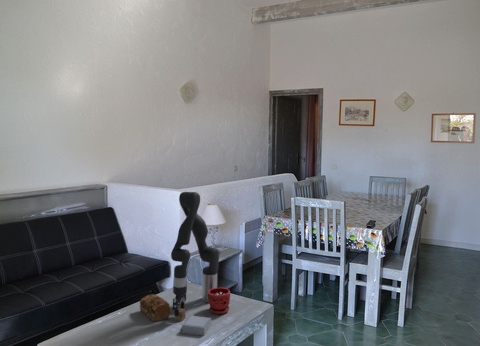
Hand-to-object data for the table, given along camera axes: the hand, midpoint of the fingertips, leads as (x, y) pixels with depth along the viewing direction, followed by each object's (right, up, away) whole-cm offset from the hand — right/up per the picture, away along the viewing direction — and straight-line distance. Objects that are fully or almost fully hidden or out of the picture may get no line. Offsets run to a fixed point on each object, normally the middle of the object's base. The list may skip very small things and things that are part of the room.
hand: (179, 312), depth 217 cm
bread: (-15, -3, +5) cm, 16 cm away
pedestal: (+11, -5, -11) cm, 16 cm away
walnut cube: (0, -4, 0) cm, 4 cm away
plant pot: (+21, -3, +12) cm, 25 cm away
